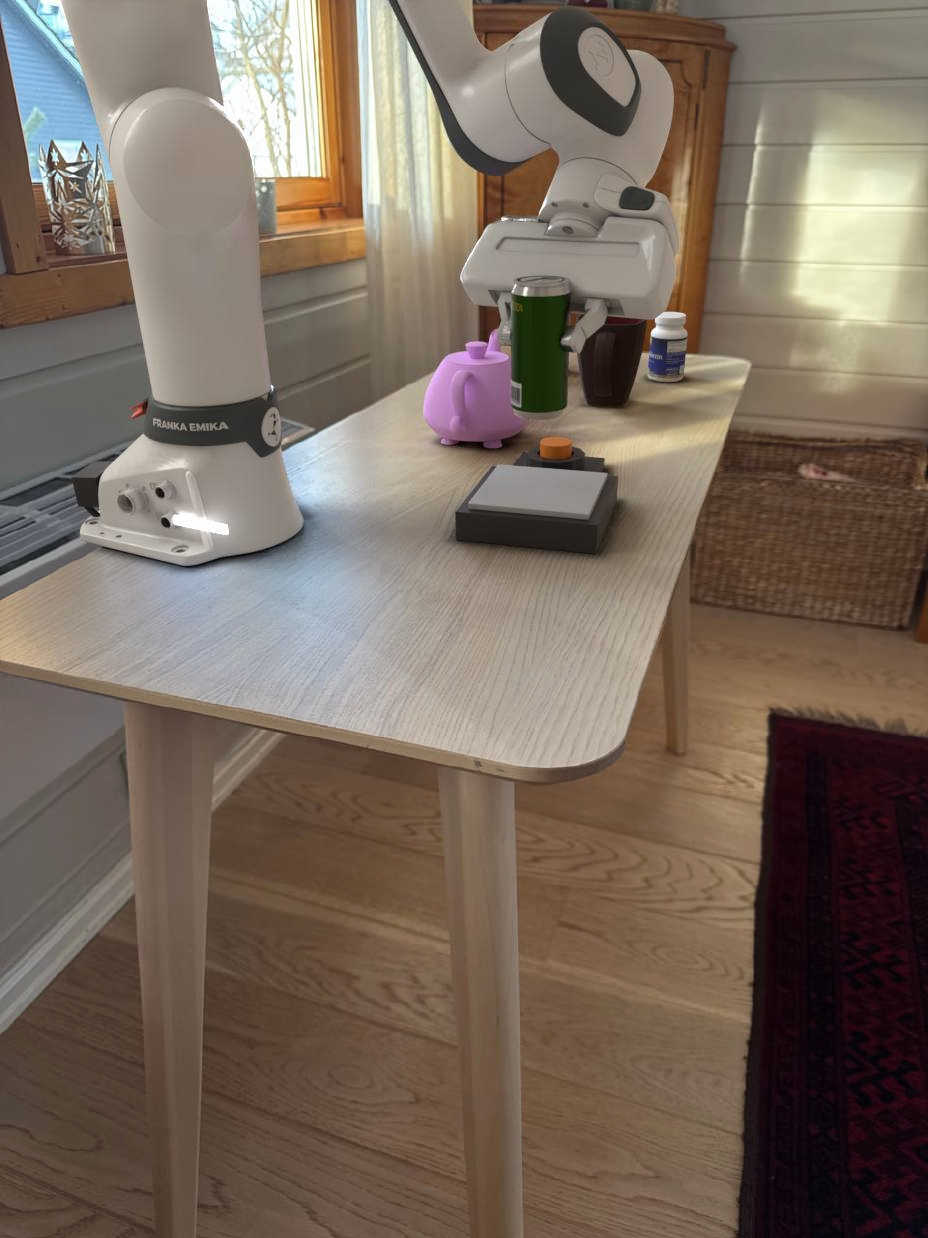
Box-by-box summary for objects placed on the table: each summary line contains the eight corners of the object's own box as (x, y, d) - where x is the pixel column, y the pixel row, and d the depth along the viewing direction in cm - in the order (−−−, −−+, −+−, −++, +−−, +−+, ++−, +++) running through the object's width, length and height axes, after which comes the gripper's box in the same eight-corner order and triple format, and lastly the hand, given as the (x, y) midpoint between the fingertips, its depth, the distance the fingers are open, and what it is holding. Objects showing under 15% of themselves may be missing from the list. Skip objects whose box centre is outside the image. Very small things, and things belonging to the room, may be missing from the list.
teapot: (452, 411, 130) (450, 324, 124) (548, 417, 126) (550, 328, 120) (403, 453, 113) (398, 355, 107) (512, 463, 109) (513, 361, 103)
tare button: (536, 459, 102) (537, 444, 101) (543, 450, 105) (543, 435, 104) (568, 462, 101) (568, 447, 100) (573, 452, 104) (574, 437, 103)
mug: (643, 394, 136) (649, 312, 130) (635, 420, 124) (641, 331, 118) (577, 391, 138) (581, 310, 132) (563, 417, 126) (566, 329, 120)
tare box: (502, 489, 101) (502, 463, 100) (522, 460, 110) (523, 437, 108) (590, 496, 99) (591, 470, 97) (604, 467, 107) (605, 442, 106)
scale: (455, 539, 89) (454, 505, 87) (491, 491, 101) (491, 460, 99) (596, 554, 85) (597, 519, 84) (616, 502, 97) (618, 470, 95)
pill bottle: (640, 376, 146) (645, 312, 141) (672, 372, 147) (678, 309, 143) (657, 384, 141) (663, 318, 136) (690, 381, 143) (696, 315, 138)
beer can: (533, 424, 82) (535, 286, 76) (499, 411, 86) (499, 278, 80) (578, 414, 85) (584, 279, 79) (543, 401, 89) (546, 273, 83)
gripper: (479, 192, 86) (428, 315, 84) (684, 196, 77) (633, 334, 74) (502, 237, 92) (454, 354, 89) (696, 246, 82) (648, 376, 80)
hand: (537, 345), depth 82 cm, fingers closed on beer can, 5 cm apart
